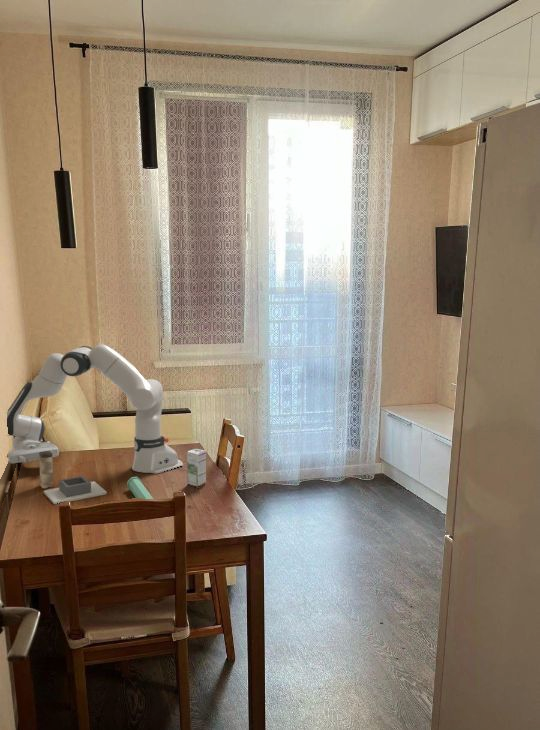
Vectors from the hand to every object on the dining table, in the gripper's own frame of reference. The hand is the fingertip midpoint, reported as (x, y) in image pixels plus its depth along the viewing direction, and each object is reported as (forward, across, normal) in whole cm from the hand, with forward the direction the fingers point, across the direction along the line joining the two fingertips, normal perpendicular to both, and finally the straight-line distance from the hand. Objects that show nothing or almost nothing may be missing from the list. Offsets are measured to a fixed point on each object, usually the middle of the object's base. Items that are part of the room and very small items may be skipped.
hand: (38, 459), depth 251 cm
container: (+46, +26, +9) cm, 54 cm away
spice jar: (+12, 0, +8) cm, 15 cm away
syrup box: (+42, +52, +8) cm, 67 cm away
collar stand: (+26, +7, +8) cm, 28 cm away
